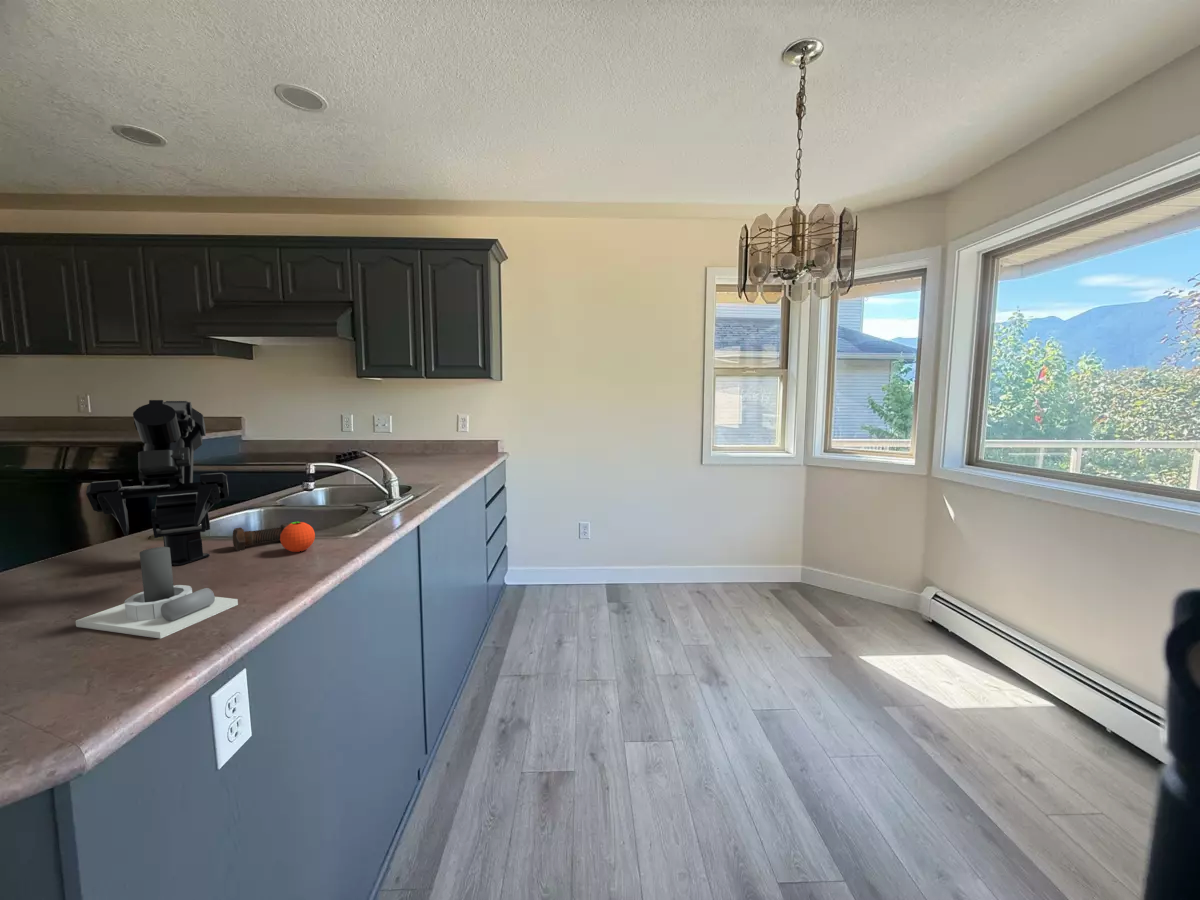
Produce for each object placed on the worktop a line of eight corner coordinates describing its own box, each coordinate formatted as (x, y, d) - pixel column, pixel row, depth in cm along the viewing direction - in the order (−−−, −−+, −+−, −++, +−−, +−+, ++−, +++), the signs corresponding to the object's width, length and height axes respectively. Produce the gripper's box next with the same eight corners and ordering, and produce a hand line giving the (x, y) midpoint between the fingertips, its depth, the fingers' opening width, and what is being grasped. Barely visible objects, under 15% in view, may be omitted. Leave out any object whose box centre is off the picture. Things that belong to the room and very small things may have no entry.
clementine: (274, 551, 111) (271, 521, 110) (306, 544, 116) (304, 515, 116) (288, 558, 106) (286, 527, 105) (321, 550, 112) (319, 520, 111)
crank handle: (142, 610, 77) (135, 551, 76) (170, 602, 80) (164, 545, 79) (150, 616, 75) (144, 555, 74) (179, 607, 79) (173, 549, 78)
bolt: (307, 544, 123) (235, 556, 112) (302, 531, 125) (231, 542, 114) (311, 527, 120) (237, 537, 109) (305, 514, 123) (233, 523, 112)
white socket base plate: (76, 626, 74) (73, 602, 74) (161, 595, 86) (159, 574, 85) (160, 638, 70) (158, 612, 70) (237, 604, 82) (236, 582, 82)
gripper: (82, 435, 80) (71, 511, 73) (222, 431, 91) (225, 497, 84) (98, 475, 87) (90, 548, 80) (227, 466, 98) (230, 530, 91)
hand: (162, 529), depth 83 cm, fingers open, 9 cm apart
